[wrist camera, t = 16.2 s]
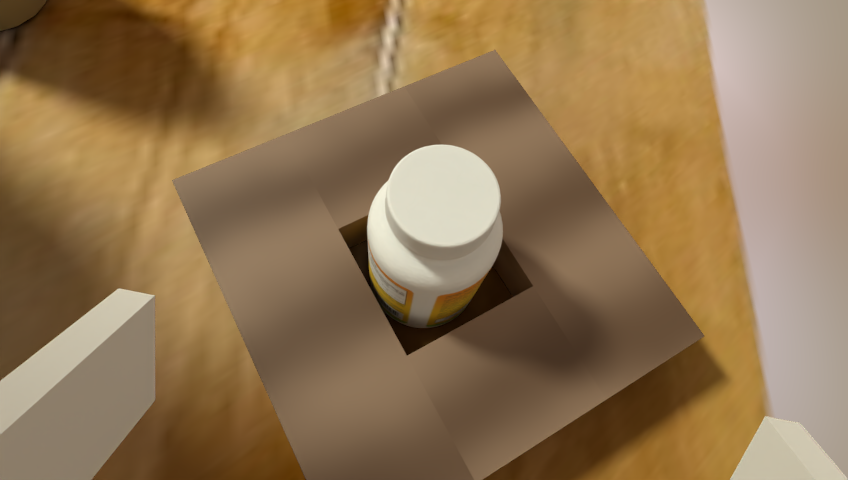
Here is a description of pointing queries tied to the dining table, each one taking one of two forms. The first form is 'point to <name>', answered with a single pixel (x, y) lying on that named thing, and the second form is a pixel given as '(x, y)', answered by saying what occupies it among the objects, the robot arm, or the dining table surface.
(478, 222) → the supplement bottle
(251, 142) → the dining table surface
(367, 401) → the socket stand
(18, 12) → the squeeze bottle
